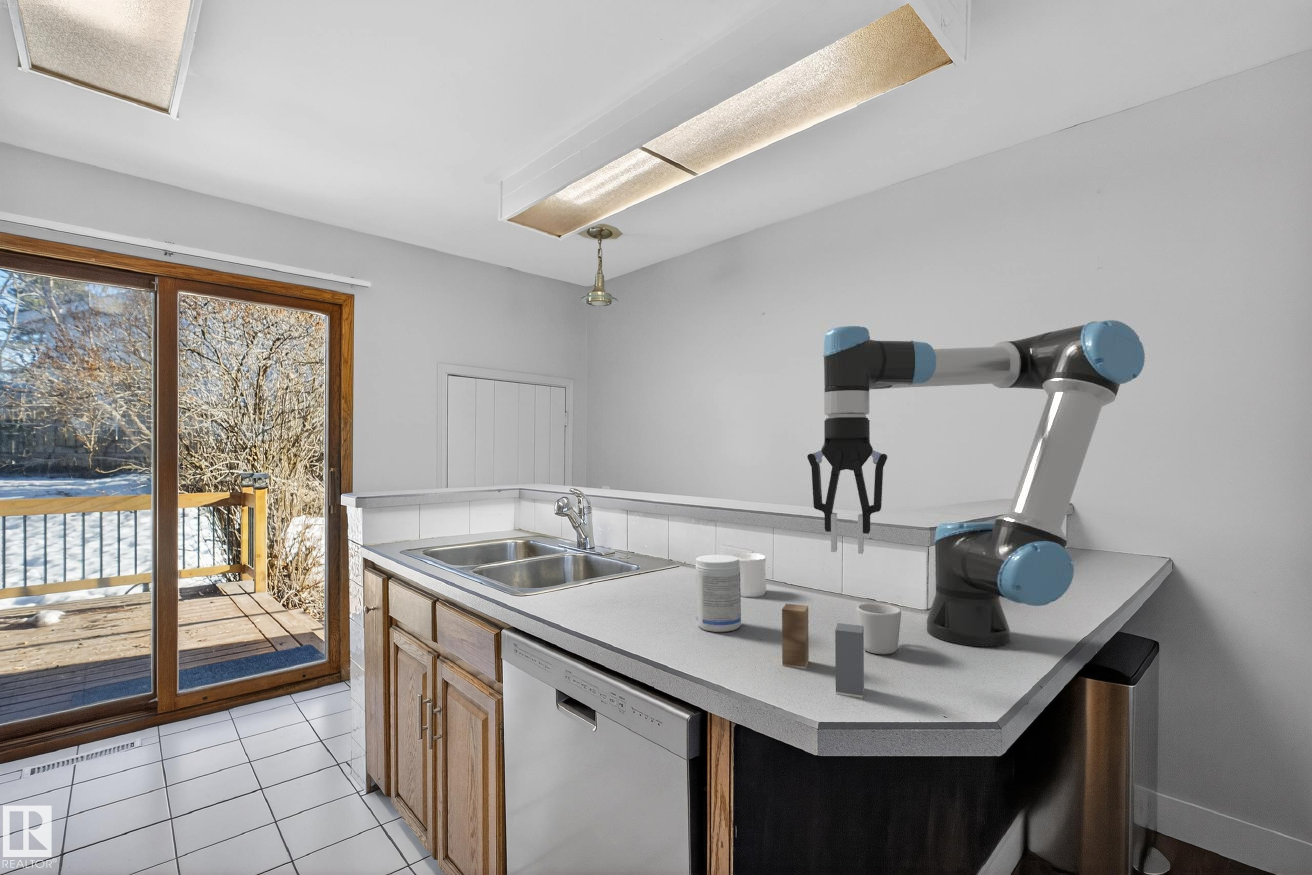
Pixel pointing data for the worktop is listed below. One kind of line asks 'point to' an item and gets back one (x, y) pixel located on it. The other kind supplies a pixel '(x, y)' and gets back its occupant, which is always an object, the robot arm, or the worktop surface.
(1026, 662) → the worktop surface
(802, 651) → the walnut block
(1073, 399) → the robot arm
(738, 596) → the supplement tub
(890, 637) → the cup
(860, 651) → the charcoal block
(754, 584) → the cup
